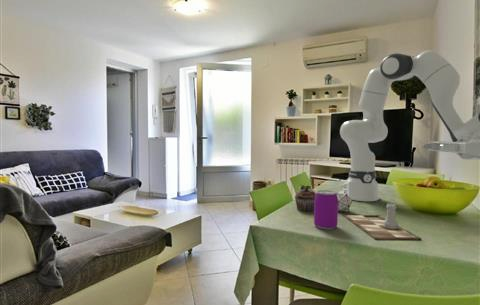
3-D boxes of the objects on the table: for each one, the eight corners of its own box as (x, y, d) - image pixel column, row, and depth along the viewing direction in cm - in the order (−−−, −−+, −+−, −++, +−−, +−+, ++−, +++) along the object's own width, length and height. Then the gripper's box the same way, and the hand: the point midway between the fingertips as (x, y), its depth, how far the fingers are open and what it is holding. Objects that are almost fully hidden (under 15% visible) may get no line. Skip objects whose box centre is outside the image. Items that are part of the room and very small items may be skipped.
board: (343, 215, 113) (343, 214, 113) (378, 216, 114) (378, 215, 114) (375, 239, 87) (375, 238, 87) (421, 240, 88) (421, 238, 88)
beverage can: (313, 229, 97) (314, 193, 96) (314, 222, 104) (314, 189, 104) (337, 231, 95) (339, 194, 94) (336, 224, 102) (337, 190, 102)
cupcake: (320, 212, 118) (321, 188, 118) (296, 212, 119) (297, 187, 118) (315, 206, 128) (315, 184, 127) (293, 206, 128) (293, 183, 128)
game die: (346, 221, 119) (357, 205, 113) (326, 212, 121) (335, 196, 114) (347, 206, 126) (358, 190, 120) (328, 198, 127) (338, 182, 121)
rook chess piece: (380, 225, 100) (381, 202, 99) (392, 225, 100) (393, 202, 100) (388, 229, 95) (389, 205, 95) (401, 229, 96) (402, 205, 95)
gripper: (449, 138, 115) (414, 137, 114) (495, 138, 94) (453, 138, 94) (448, 154, 115) (413, 153, 115) (494, 158, 95) (452, 157, 94)
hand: (431, 146), depth 104 cm, fingers open, 8 cm apart
